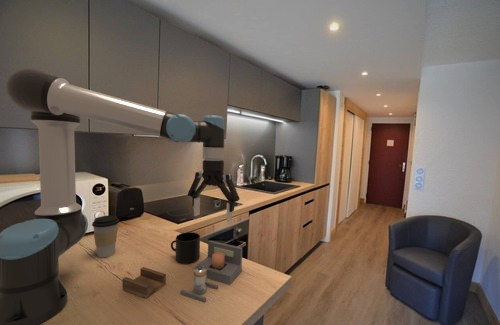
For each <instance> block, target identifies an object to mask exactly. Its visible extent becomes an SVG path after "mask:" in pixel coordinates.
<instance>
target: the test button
mask: <svg viewBox="0 0 500 325" xmlns="http://www.w3.org/2000/svg"><path fill="white" fill-rule="evenodd" d="M224 256H225V255H224V253H222V252H216V253H213V254H212V267H213V268H215V269H216V270H218V269H221V268H223V267H224Z"/></svg>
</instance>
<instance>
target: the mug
mask: <svg viewBox="0 0 500 325" xmlns="http://www.w3.org/2000/svg"><path fill="white" fill-rule="evenodd" d="M174 244H175V247H174ZM170 248H171V250H172V251H173V252H175V261H176V262H177V263H179V264H193V263H195V262H197V261H199V259H200V256H201V254H200V253H201V251H200V250H201V249H200V248H201V236H200V234H199V233H197V232H192V231H191V232H190V231H189V232H182V233H179V234H178V235H176V236H175V239H174V240H173V241H171V243H170Z"/></svg>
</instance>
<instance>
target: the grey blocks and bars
mask: <svg viewBox="0 0 500 325" xmlns="http://www.w3.org/2000/svg"><path fill="white" fill-rule="evenodd" d="M216 252H222V253H224V255H225V256H224V267H223V268H221V269H215V268H213V267H212V254H213V253H216ZM197 266H205V267H206V268H207V277H206V279H209V280H212V281H215V282H219V283H222V284H225V285H228V286H231V285H232V283H233V282H234V281H235V279H236V278H237V277H238V276H239V275H240V274H241V273H242V272H243V271H242V270H243V269H242V268H243V247H240V246H236V245H233V244H227V243H223V242H219V241H214V240H208V241H207V256H206V258H204V259H202V260H201V261H200V262H199V263H197V264H196V265H195V266H194V268H195V267H197ZM206 287H207V288H210V289H214V290H218V289H219V285H218V284H216V283H212V282H210V281H208V280H206ZM179 291H180V293H179V294H180V295H183V296H186V297H189V298H191V299H194V300H197V301H200V302H202V303H206V302H207V296H204V295H198V294H195V293H193V292H191V291H189V290H185V289H183V288H181V290H179Z"/></svg>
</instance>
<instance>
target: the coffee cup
mask: <svg viewBox="0 0 500 325" xmlns="http://www.w3.org/2000/svg"><path fill="white" fill-rule="evenodd" d="M119 223H120V219H119V218H118V216H116V215H111V214H110V215H101V216H98V217H96V218H94V220H93V222H92V224H91V225H92V227H93V237H94V245H95V248H96V254H97V257H98V258H108V257H109V258H110V257H112V256H113V255H114V254H115V251H116V242H117V236H118V229H119V227H118V224H119Z"/></svg>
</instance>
